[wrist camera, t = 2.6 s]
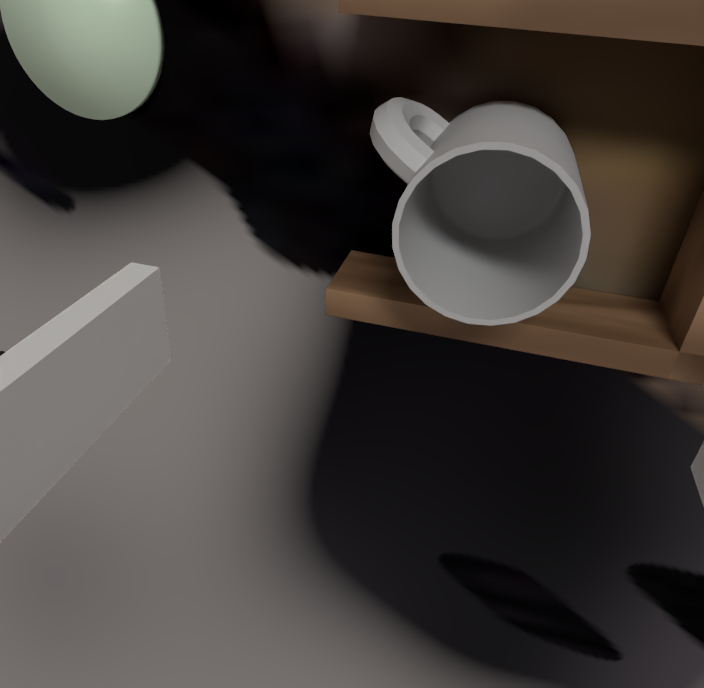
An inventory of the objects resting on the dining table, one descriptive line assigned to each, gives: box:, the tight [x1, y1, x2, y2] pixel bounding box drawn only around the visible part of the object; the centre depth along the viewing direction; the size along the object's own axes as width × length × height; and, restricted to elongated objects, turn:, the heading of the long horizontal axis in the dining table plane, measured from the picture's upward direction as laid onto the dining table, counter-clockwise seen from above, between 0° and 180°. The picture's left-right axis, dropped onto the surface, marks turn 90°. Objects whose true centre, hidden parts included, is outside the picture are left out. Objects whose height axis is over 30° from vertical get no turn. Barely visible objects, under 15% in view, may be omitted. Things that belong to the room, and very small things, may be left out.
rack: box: [325, 0, 704, 385], centre depth 26 cm, size 15×18×5 cm
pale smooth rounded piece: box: [0, 0, 164, 120], centre depth 30 cm, size 9×9×1 cm
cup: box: [370, 97, 591, 326], centre depth 25 cm, size 7×10×9 cm
